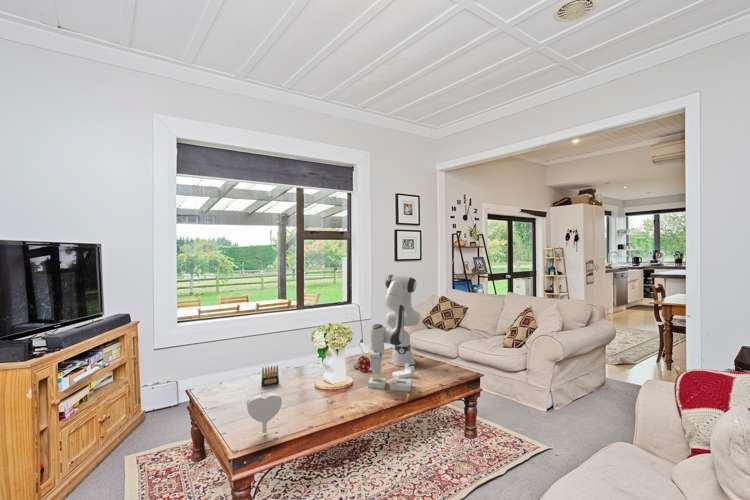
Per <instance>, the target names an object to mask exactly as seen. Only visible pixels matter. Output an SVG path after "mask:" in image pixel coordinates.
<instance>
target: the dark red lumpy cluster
mask: <svg viewBox="0 0 750 500" xmlns="http://www.w3.org/2000/svg"><path fill="white" fill-rule="evenodd" d="M353 368H354V369H358V370H359V371H360V372H361V373H362V372H363V373H366V372H368V371H369V370H370V369H371V363H370V357H367V356H365V355H360V357H358V359H357V361H356V362H354V363H353Z"/></svg>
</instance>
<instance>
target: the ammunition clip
mask: <svg viewBox="0 0 750 500" xmlns="http://www.w3.org/2000/svg"><path fill="white" fill-rule="evenodd" d="M279 375H280V374H279V365H278V364H276V366H275V365H273V366H272V365H270V366H268V367H267V366H265V368H264V367H262V369H261V383H260V384H261V387H262V386H263V387H268V386H275V385H279V384H280V379H279Z"/></svg>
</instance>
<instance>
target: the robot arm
mask: <svg viewBox="0 0 750 500" xmlns="http://www.w3.org/2000/svg"><path fill="white" fill-rule="evenodd" d="M385 287H386V289H387V291H386V294H385V298H384V304H385V306H386V308H387V309H388V310H390V311H391V312H390V311H389V312H388V313H386V315H385V323H386V324H387V326H389V327H385V326H384V325H383V324H380V323H376V324H373V325H372V326H371V327H370V333H369V334H370V335H369V340H370V345H369V354H368V355H369V357H368V358H369V360H370V363H371V366H370V369H371V371H373V370H375V374H378V367H379V366H380V364H381V365H382V362H383V360H384V358H383V357H384V356H383V355H385V344H389V345H391V346H394V350H393V351H392V354H391V355H392V359H391V360H390V361H389V363H390V364H392V365H395V366H397V367H405V364H409V367H411V366H414V365H416V361H415V358H414V357H413V352H412V351H411V349H412V348H411V347H412V346H411V334H410V333H409V332H408V331H406V330H404V327H416V326H418V325H419V323H420V322H421V316H420V314H419V313H418V312H417V311H416V310H415V309H414V308H413V306H412V305H413V304H412V293H414V292H415V291H416V289H417V280H416V279H415V278H414V277H409V276H405V275H396V274H389V275H387V277H386V279H385Z"/></svg>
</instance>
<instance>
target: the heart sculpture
mask: <svg viewBox="0 0 750 500" xmlns="http://www.w3.org/2000/svg"><path fill="white" fill-rule="evenodd" d="M282 404H283V401H282V397H281V395H280V394H278V393H275V392H269V393H266V394H265V395H262V394H258V395H257V394H256V395H253V396H252V397H250V398H249V399H247V400H246V409H247V412H248V414H249V416H250V417H251V418H252V419H253V420H255V421H257V422H260V423H261V424H262V426H261V427H262V430H261V432H260V431H257V432H258V434H262V433H268V432H272V431H273V430H270V429H268V427H267V426H268V424H267V423H268V422H270V421H271V420H272V419H273V418H275V416H277V415H278V413H279V411H280V410H281V407H282Z"/></svg>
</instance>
